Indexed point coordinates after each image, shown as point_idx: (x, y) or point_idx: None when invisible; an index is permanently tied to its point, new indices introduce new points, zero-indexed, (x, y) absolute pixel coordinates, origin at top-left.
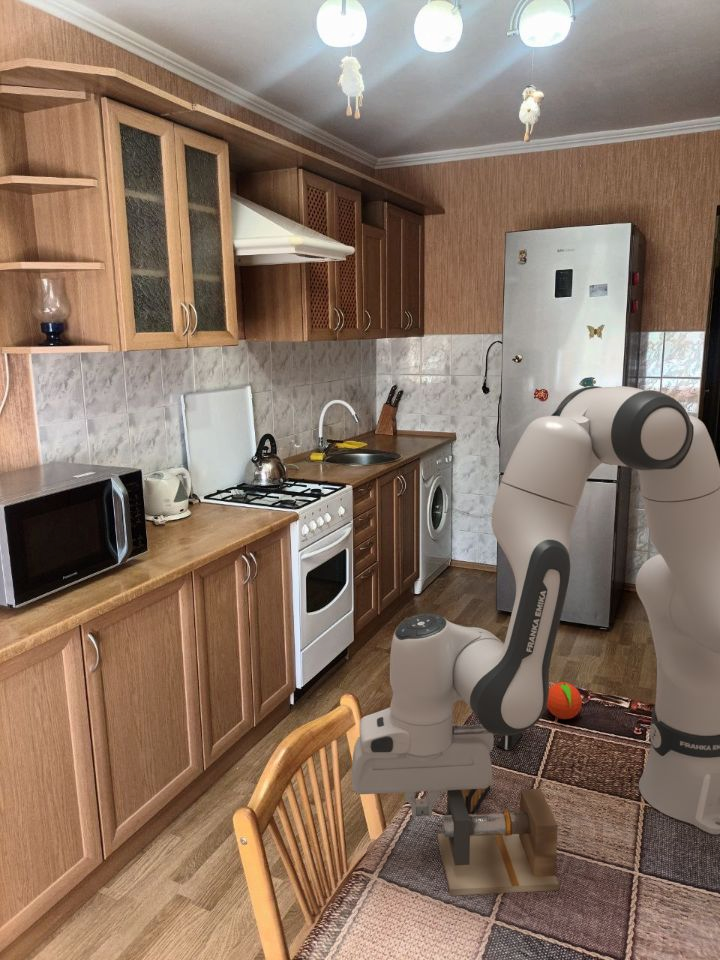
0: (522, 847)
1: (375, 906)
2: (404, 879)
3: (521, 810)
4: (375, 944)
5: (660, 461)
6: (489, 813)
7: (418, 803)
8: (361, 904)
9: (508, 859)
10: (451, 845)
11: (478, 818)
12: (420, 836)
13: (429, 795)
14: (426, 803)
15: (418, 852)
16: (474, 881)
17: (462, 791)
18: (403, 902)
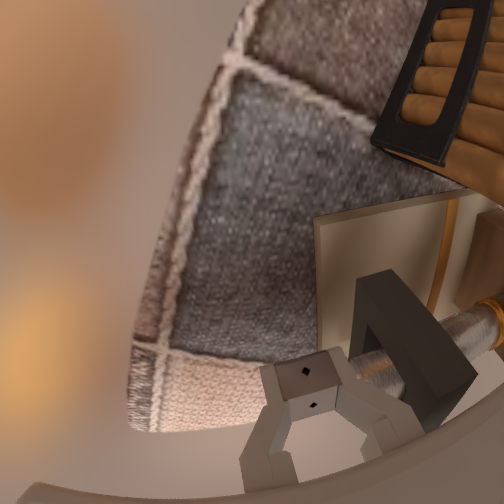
0: (470, 243)
1: (185, 392)
2: (228, 345)
3: None
4: (203, 424)
5: None
6: (480, 342)
7: (299, 411)
8: (161, 392)
9: (441, 279)
10: (356, 347)
11: None
12: (261, 210)
13: (357, 407)
14: (332, 401)
15: (256, 271)
16: None
17: (465, 185)
18: (232, 381)
